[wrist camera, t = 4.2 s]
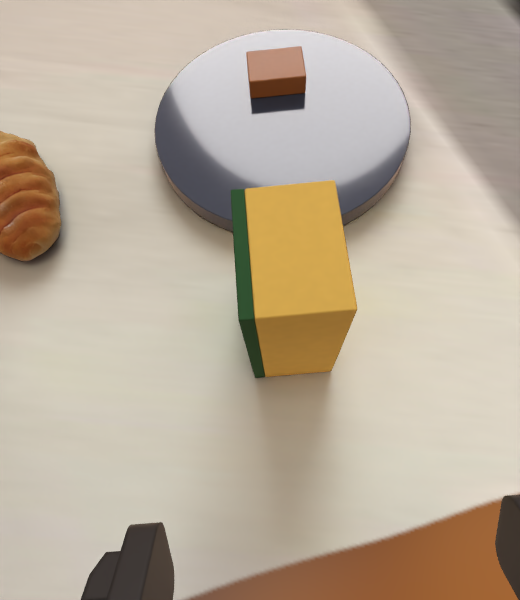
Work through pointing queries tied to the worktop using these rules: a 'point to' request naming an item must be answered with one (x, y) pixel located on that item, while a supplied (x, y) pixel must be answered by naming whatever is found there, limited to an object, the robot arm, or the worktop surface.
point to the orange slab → (276, 72)
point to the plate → (282, 126)
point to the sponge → (292, 277)
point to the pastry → (26, 200)
